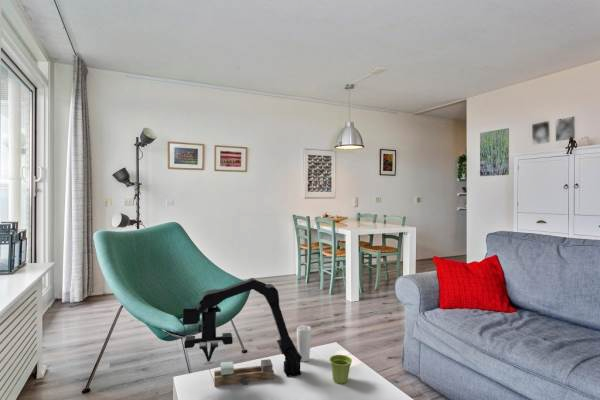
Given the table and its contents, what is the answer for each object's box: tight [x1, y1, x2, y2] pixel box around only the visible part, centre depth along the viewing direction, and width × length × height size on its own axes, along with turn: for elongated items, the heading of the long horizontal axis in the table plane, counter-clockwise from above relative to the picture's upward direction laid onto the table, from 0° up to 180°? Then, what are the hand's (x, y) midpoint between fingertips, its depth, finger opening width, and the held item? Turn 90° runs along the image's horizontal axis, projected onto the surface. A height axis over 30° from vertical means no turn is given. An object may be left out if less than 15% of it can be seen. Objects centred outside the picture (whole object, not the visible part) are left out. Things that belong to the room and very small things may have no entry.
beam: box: [213, 358, 275, 387], centre depth 148 cm, size 24×9×6 cm, turn 104°
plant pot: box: [329, 354, 353, 385], centre depth 148 cm, size 9×9×9 cm
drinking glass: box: [296, 324, 312, 363], centre depth 167 cm, size 7×7×15 cm
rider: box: [220, 361, 235, 375], centre depth 146 cm, size 5×6×4 cm
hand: (208, 361), depth 145 cm, fingers closed
